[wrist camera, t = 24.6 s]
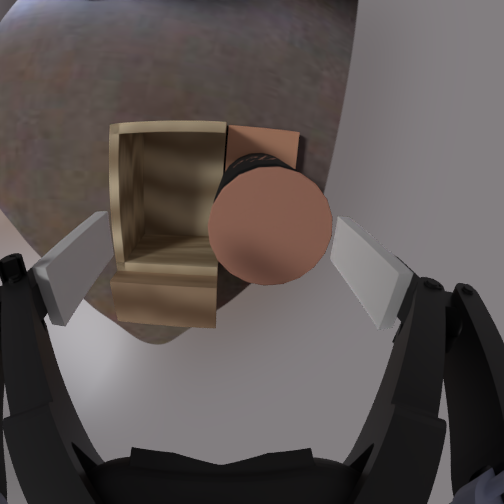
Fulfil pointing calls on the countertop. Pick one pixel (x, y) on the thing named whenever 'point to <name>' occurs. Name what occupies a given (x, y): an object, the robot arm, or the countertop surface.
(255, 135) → the panel
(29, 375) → the robot arm
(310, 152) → the countertop surface
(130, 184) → the box
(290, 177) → the coffee jar
